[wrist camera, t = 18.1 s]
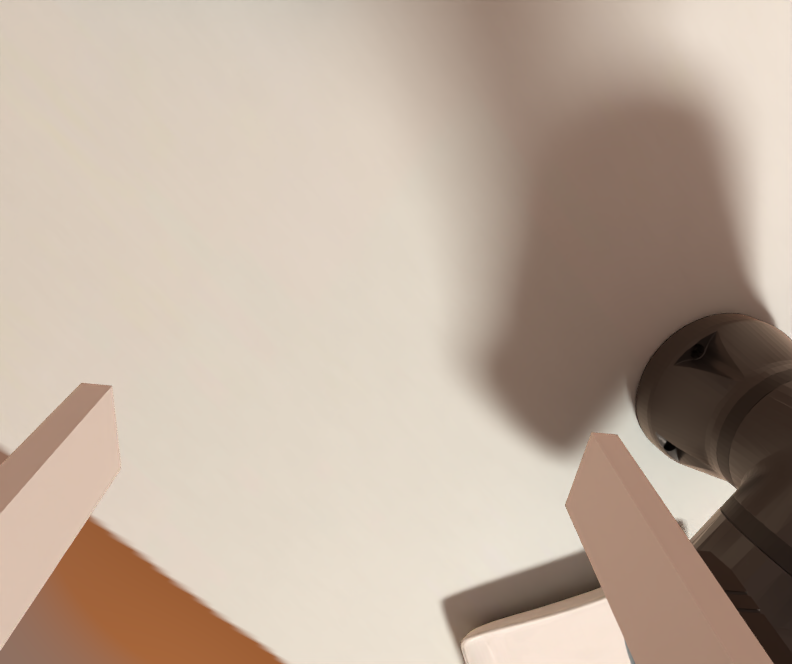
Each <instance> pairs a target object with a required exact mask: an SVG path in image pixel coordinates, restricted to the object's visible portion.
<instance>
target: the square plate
mask: <svg viewBox="0 0 792 664" xmlns="http://www.w3.org/2000/svg"><path fill="white" fill-rule="evenodd" d="M460 645H461V651H462V654H463V657H464V660H465V663H466V664H631V662H630V659H629V656H628V653H627V650H626V646H625V641H624V637H623V635H622V632H621V630H620V628H619V626H618V623H617V621H616V619H615V617H614V614H613V612H612V610H611V608H610V606H609V603H608V601H607V599H606V597H605V594H604V592H603V590H602V588H601V587H600V588H598V589H595V590H592V591H589V592H586V593H583V594H580V595H577V596H574V597H571V598H568V599H565V600H562V601H559V602H556V603H552V604H549V605H546V606H543V607H540V608H537V609H533V610H530V611H526V612H523V613H519V614H515V615H512V616H509V617H505V618H502V619H499V620H496V621H493V622H490V623H487V624H485V625H482V626H480V627H478V628H475V629H474V630H472V631H471V632H469V633H468V634H467V635H466V636H465V638H464V639H462V640H461V644H460Z"/></svg>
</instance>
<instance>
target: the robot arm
mask: <svg viewBox="0 0 792 664" xmlns="http://www.w3.org/2000/svg"><path fill="white" fill-rule="evenodd" d="M636 410H637V416H638V421H639V424H640V426H641V428H642V430H643V432H644V434H645V435H646V437H647V438H648V439H649V440H650V441H651V442H652V443H653V444H654V445H655V446H656V447H657V448H658V449H660V450H661V451H662V452H663V453H664V454H665V455H666V456H668V457H669V458H671V459H672V460H674V461H676V462H678V463H680V464H682V465H685V466H688V467H690V468H693V469H696V470H698V471H701V472H704V473H706V474H709V475H712V476H714V477H717V478H720V479H722V480H725V481H728V482H729V483H730V484H731V485H733V486H734V487H735V488H736V489H737V490H736V492H735V493H734V494H733V495H732V496H731V497H730V498H729V499H728V500H727V501H726V502H725V503H724V505H723V506H722V507H720V508H719V509H718V510H717V511H716V513H715V514H714V515H713V516H712V517H711V518H710V519H709V520H708V521H707V522H706V523H705V524H704V525H703V526H702V528H701V529H700V530H699V531H698V532H697V533H696V534H695V535H694V536H693V537H692V538H691V539H690V540H689V539H688V538H687V536H686V535H685V533H684V532H683V530H682V529H681V527H680V526H679V524H678V523H677V521H676V520H675V518H674V517H673V516H672V514H671V513H670V511H669V510H668V508H667V507H666V505H665V504H664V502H663V501H662V499H661V498H660V497H659V495H658V494H657V492H656V491H655V489H654V488H653V486H652V485H651V483H650V482H649V480H648V479H647V478H646V476H645V475H644V473H643V472H642V470H641V469H640V467H639V466H638V464H637V463H636V461H635V460H634V459H633V457H632V456H631V454H630V453H629V451H628V450H627V448H626V447H625V445H624V444H623V442H622V441H621V439H620V438H619V437H618V435H615V434H605V433H594V432H591V435H590V438H589V441H588V443H587V446H586V449H585V452H584V454H583V457H582V460H581V463H580V465H579V468H578V471H577V474H576V476H575V479H574V482H573V485H572V487H571V490H570V493H569V496H568V498H567V501H566V504H565V507H566V509H567V511H568V513H569V516H570V518H571V520H572V522H573V525H574V527H575V529H576V531H577V534H578V536H579V538H580V540H581V543H582V545H583V547H584V549H585V552H586V554H587V556H588V558H589V561H590V563H591V565H592V567H593V570H594V572H595V574H596V576H597V579H598V581H599V583H600V585H601V588H602V590H603V592H604V594H605V597H606V599H607V601H608V603H609V606H610V608H611V610H612V612H613V614H614V617H615V619H616V621H617V623H618V626H619V628H620V630H621V632H622V635H623V637H624V641H625V646H626V650H627V653H628V656H629V659H630V662H631V664H792V340H791V339H790V338H789V337H788V336H787V335H786V334H785V333H784V332H782V331H781V330H779V329H778V328H776V327H774V326H773V325H770V324H768V323H766V322H763V321H760V320H758V319H755V318H753V317H750V316H747V315H742V314H735V313H725V314H717V315H712V316H708V317H705V318H702V319H699V320H697V321H695V322H693V323H691V324H689V325H687V326H685V327H684V328H682V329H681V330H679V331H678V332H676V333H675V334H674V335H672V336H671V337H670V338H669V339H668V340H667V341H666V342H665V343H664V344H663V345H662V346H661V347H660V348H659V349H658V350H657V352H656V353H655V354H654V355H653V357H652V358H651V360H650V361H649V363H648V365H647V367H646V369H645V370H644V373H643V375H642V377H641V380H640V383H639V387H638V391H637V399H636ZM120 470H121V462H120V453H119V444H118V435H117V426H116V417H115V408H114V399H113V390H112V386H108V385H98V384H88V383H81V384H80V385H79V386H78V387H77V388H76V389H75V390H74V391H73V392H72V393H71V394H70V395H69V396H68V397H67V398H66V399H65V400H64V401H63V402H62V403H61V404H60V405H59V406H58V407H57V408H56V409H55V410H54V411H53V412H52V413H51V414H50V415H49V416H48V417H47V418H46V419H45V420H44V421H43V423H42V424H41V425H40V426H39V427H38V428H37V429H36V430H35V431H34V432H33V433H32V434H31V435H30V436H29V437H28V438H27V439H26V440H25V441H24V442H23V443H22V444H21V445H20V446H19V447H18V448H17V449H16V450H15V451H14V452H13V453H12V454H11V455H10V456H9V457H8V458H7V459H6V460H5V461H4V462H3V463H2V464H1V465H0V650H1V649H2V647H3V646H4V644H5V643H6V641H7V640H8V638H9V636H10V635H11V634H12V632H13V631H14V629H15V628H16V626H17V625H18V623H19V622H20V620H21V618H22V617H23V616H24V614H25V613H26V611H27V610H28V608H29V607H30V605H31V604H32V602H33V600H34V599H35V598H36V596H37V594H38V593H39V591H40V590H41V588H42V587H43V585H44V584H45V582H46V581H47V579H48V578H49V576H50V575H51V573H52V572H53V570H54V569H55V567H56V566H57V564H58V563H59V561H60V560H61V558H62V557H63V555H64V554H65V552H66V551H67V549H68V548H69V546H70V545H71V543H72V542H73V540H74V539H75V537H76V536H77V534H78V533H79V531H80V530H81V528H82V527H83V525H84V524H85V522H86V521H87V519H88V518H89V516H90V515H91V513H92V512H93V510H94V509H95V507H96V506H97V504H98V503H99V501H100V500H101V498H102V497H103V495H104V494H105V492H106V491H107V489H108V488H109V486H110V485H111V483H112V482H113V480H114V479H115V477H116V476H117V474H118V473H119V471H120Z"/></svg>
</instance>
